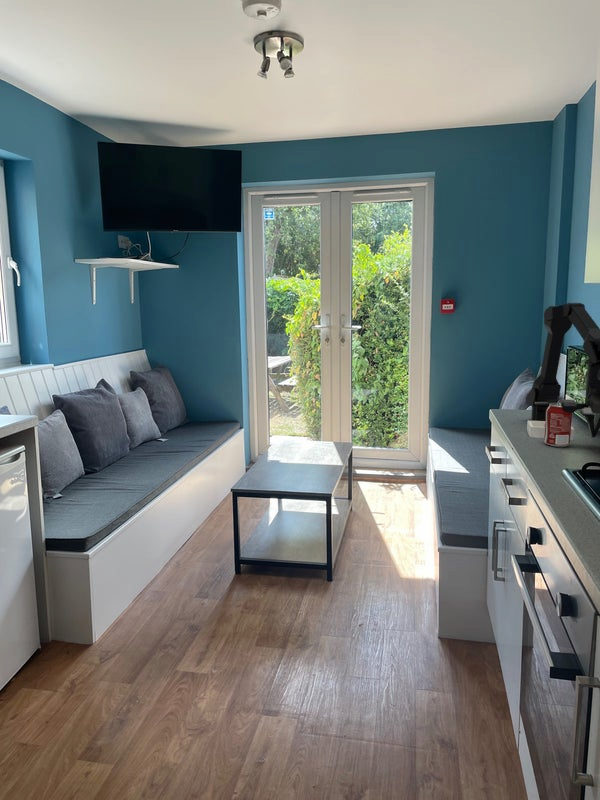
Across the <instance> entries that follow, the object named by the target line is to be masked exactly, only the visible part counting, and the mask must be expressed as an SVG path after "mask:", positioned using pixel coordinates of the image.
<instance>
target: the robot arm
mask: <svg viewBox="0 0 600 800" xmlns="http://www.w3.org/2000/svg"><path fill="white" fill-rule="evenodd" d="M543 324H544V327H545V329H546V331H547V335H546V341H545V345H544V351H543V356H542V357H543V358H542V362H541V363H542V364H541V369H540V373H539V375H538V377H536V378H535V380H534V381H533V382H532V387H531V388H530V390H529V392H528V394H527V395H526V397H525V403H526V405H528V406H529V407H531V415H530V418H529V419H528V421H546V409H547V408H548V407H549V403H558V404H559V406H562V410H563V411H564V412H568V413H572V414H573V413H575V412H577V410H578V411H579V414H580V415H581V416H583V417H584V418H585V421H586V422H587V425H588V430H589V432H590V433H589V434H590V436H591V438H596V437H597V435H598V433H599V431H600V327H599V326H598V324H597V323H596V322H595V320H594V319H593V318H592V316H591V315H590V314H589V312H588V311H587V309H586V306H585V304H584V303H582V302H567V303H564V304H560V305H549V306H548V307H547V308H546V309H545V310H544V314H543ZM573 326H574V328H575V329H576V331H577V332H578V334H579V336H580V337H581V338H582V340H583V343H582V349H583V350H584V352H585V355H586V356H587V357H588V358H587V359H586V360H585V361H584V365H587V375H586V384H585V397H584V402H577V401H576V400H575V399H564V398H563V399H560V396H561V388H562V385H561V384H560V383H559V381H558V379H557V375H558V369H559V365H560V359H561V353H562V349H563V344H564V340H565V339H564V338H565V335H566V334H567V333H568V331H570V329H571V328H572V327H573Z"/></svg>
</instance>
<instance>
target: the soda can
mask: <svg viewBox="0 0 600 800" xmlns="http://www.w3.org/2000/svg"><path fill="white" fill-rule="evenodd" d="M558 403H559V402H558ZM558 403H549V407H548V408H547V409H546V421H545V436H544V438H543V439H544V440H543V443H544V444H546V445H547V446H549V445H550V447H553V448H566V447H568V446H570V445H571V444H570V443H571V440H570V435H571V426H572V422H573V421H572V419H573V413H568V412H564V411H563V410H562V406H559V404H558Z"/></svg>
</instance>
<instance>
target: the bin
mask: <svg viewBox="0 0 600 800" xmlns="http://www.w3.org/2000/svg"><path fill="white" fill-rule="evenodd" d="M526 425H527V426H526V432H527V433H528V436H529V437H530V438H538V439H544V436H545V427H544V425H545V421H529V420H527V423H526ZM574 435H575V429H574V427H573V426H572V425H571V435H570V441H571V442H572V441H574Z"/></svg>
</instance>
